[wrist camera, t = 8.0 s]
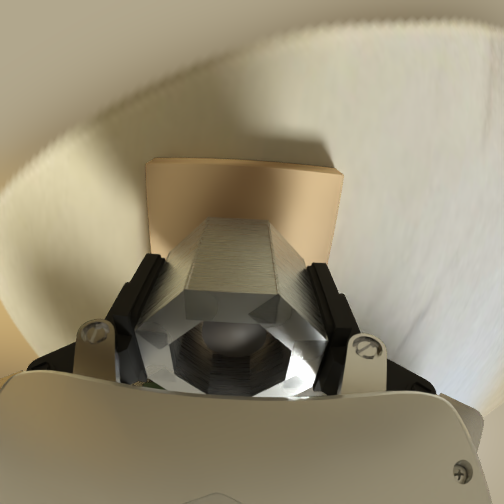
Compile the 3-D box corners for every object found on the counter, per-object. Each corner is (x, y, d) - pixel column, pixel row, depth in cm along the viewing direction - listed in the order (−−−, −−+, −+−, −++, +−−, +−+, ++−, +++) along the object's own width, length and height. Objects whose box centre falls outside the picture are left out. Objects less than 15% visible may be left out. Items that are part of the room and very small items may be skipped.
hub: (309, 222, 11) (343, 295, 7) (290, 328, 14) (303, 410, 10) (166, 214, 11) (123, 283, 7) (176, 322, 14) (155, 402, 10)
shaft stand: (335, 168, 14) (396, 222, 8) (308, 311, 18) (329, 403, 12) (155, 157, 14) (85, 204, 7) (166, 303, 18) (135, 393, 12)
